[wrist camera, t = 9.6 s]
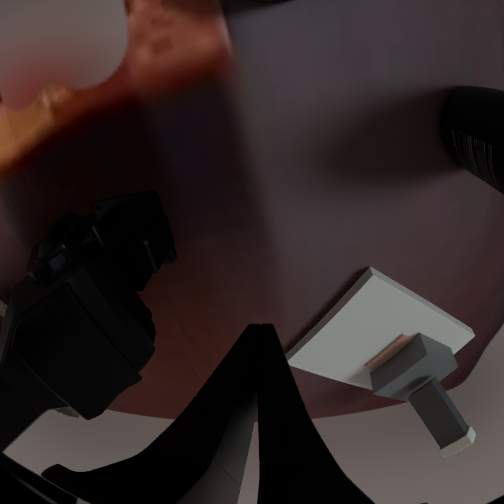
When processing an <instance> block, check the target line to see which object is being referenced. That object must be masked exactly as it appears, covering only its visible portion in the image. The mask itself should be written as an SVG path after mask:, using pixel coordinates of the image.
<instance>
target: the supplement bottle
mask: <svg viewBox="0 0 504 504" xmlns="http://www.w3.org/2000/svg"><path fill="white" fill-rule="evenodd" d="M440 132H441V137H442V141H443V144H444V147H445V149H446V151H447V153H448V154H449V156H450V157H451V158H452V159H453V161H454V162H455V163H457V164H458V165H459V166H461V167H462V168H464V169H465V170H467V171H468V172H470V173H472V174H473V175H475V176H476V177H478V178H479V179H481V180H483V181H484V182H486V183H487V184H489V185H490V186H492V187H493V188H494V189H496V190H497V191H499V192H500V193H502V194H503V195H504V91H503V90H498V89H492V88H485V87H478V86H462V87H460V88H457V89H456V90H454V91H453V92H452V93H451V94H450V95H449V96H448V97H447V99H446V101H445V102H444V105H443V107H442V111H441V116H440Z"/></svg>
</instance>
